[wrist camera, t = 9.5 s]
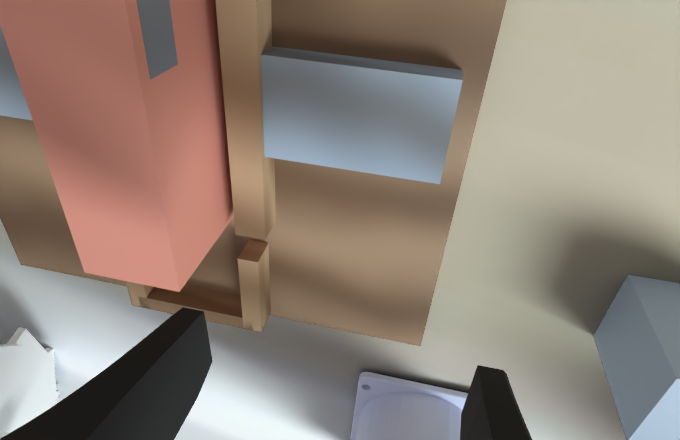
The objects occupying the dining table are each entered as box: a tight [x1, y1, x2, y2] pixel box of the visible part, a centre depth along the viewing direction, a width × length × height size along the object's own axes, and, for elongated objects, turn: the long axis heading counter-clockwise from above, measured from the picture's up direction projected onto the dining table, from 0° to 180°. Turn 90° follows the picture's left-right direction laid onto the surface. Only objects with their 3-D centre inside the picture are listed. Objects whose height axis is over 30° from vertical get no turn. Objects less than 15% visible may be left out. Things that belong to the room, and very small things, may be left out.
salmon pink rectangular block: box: [0, 0, 234, 292], centre depth 16 cm, size 12×4×6 cm, turn 176°
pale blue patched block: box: [593, 274, 680, 440], centre depth 19 cm, size 4×4×6 cm
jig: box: [0, 0, 506, 346], centre depth 20 cm, size 20×24×2 cm
